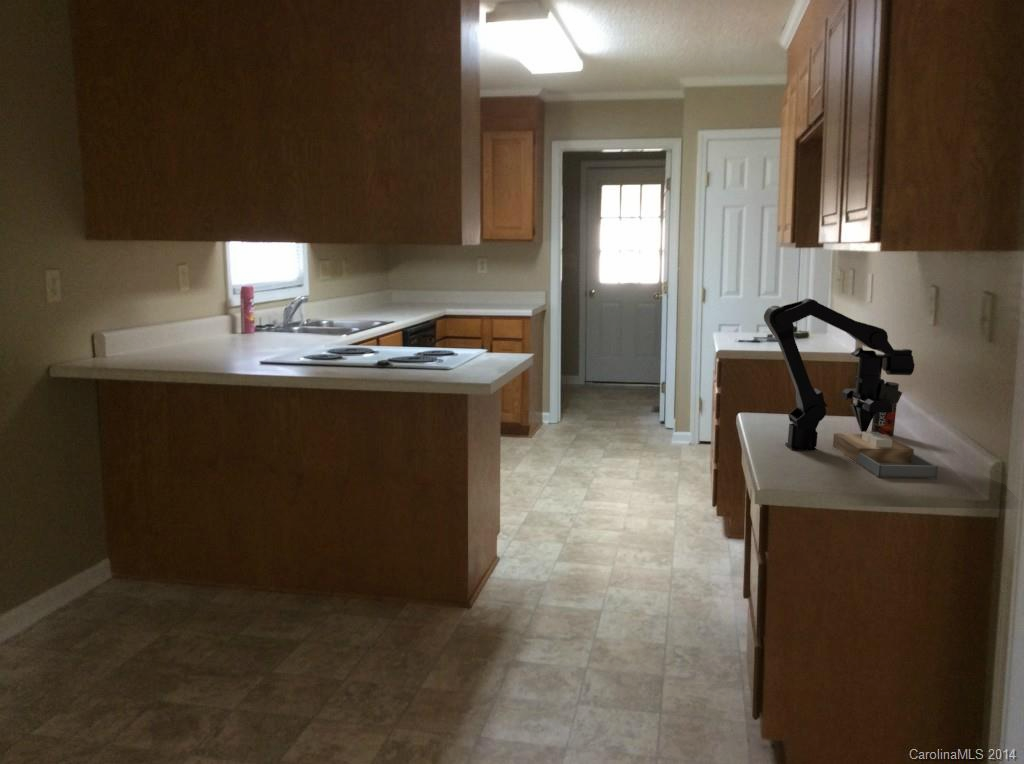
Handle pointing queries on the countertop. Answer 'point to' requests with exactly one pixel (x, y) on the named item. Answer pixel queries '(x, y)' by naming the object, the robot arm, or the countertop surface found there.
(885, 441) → the tile
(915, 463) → the tray
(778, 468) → the countertop surface
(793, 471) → the countertop surface
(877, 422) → the deodorant
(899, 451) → the wooden block
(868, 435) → the tile
